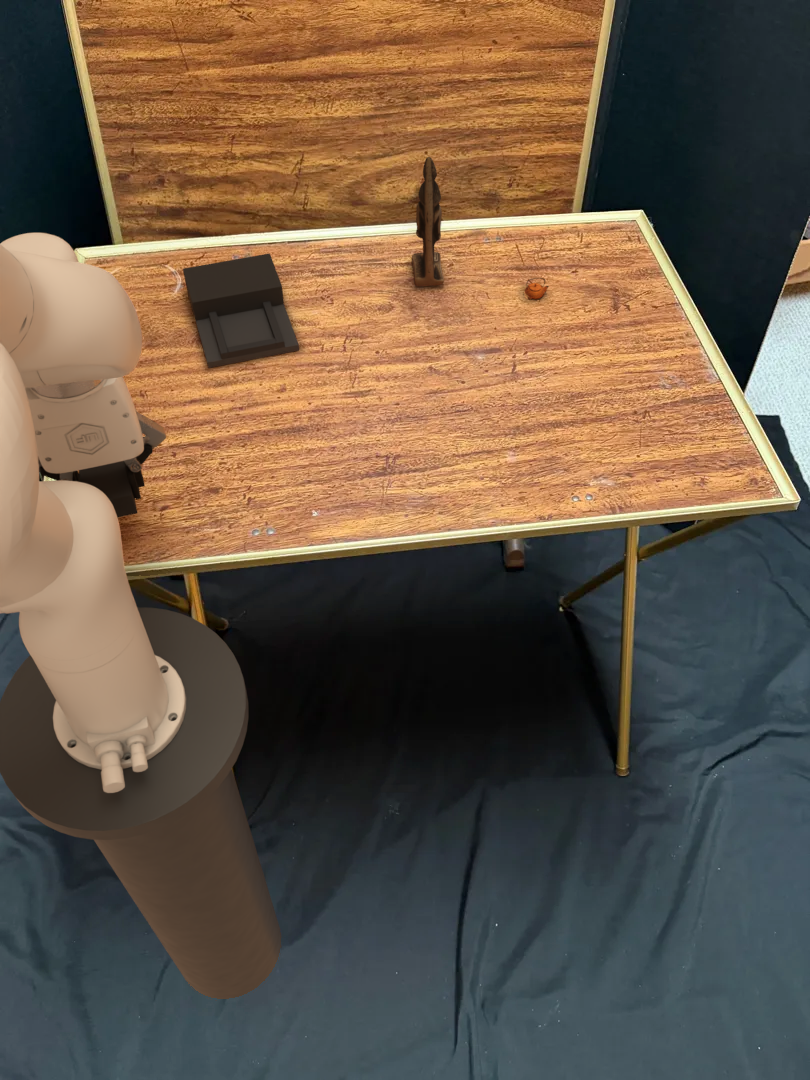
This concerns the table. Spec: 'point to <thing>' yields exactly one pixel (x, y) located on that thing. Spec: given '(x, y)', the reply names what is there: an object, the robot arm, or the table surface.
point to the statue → (428, 229)
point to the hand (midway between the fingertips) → (109, 494)
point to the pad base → (246, 334)
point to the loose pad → (112, 486)
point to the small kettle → (535, 290)
